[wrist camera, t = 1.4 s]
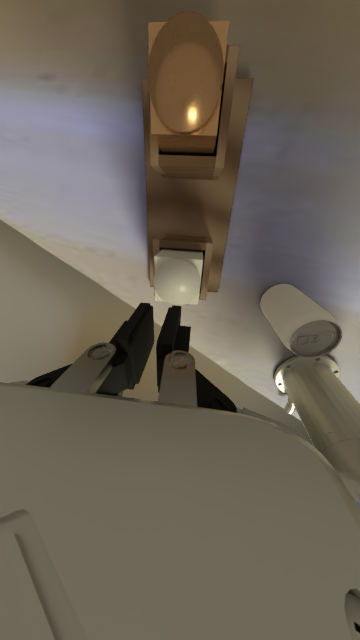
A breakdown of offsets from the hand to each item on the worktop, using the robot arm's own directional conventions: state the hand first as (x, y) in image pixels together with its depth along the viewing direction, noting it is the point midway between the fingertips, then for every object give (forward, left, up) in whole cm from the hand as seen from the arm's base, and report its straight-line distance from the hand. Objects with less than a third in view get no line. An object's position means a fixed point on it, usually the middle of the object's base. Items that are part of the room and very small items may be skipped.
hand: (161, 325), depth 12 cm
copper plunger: (+14, 0, -16) cm, 21 cm away
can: (-6, -17, -21) cm, 28 cm away
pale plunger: (0, 0, -16) cm, 16 cm away
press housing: (+7, 0, -21) cm, 22 cm away
